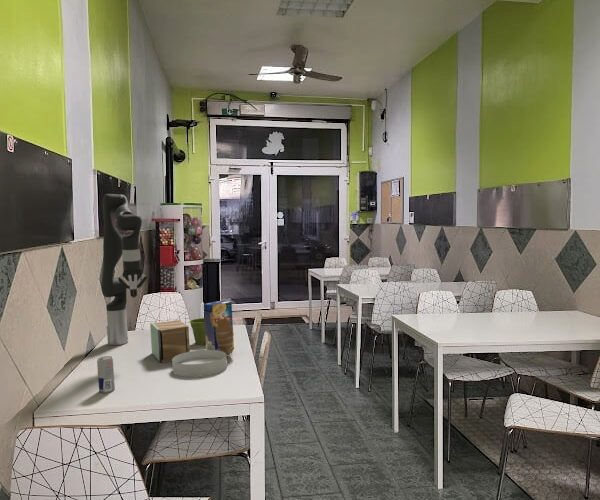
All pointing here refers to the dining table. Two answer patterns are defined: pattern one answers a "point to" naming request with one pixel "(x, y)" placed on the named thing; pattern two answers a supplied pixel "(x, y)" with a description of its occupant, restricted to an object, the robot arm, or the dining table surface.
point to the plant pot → (198, 330)
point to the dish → (199, 363)
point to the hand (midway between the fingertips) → (133, 297)
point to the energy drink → (105, 374)
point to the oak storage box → (173, 339)
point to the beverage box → (215, 321)
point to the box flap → (156, 341)
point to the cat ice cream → (224, 335)
